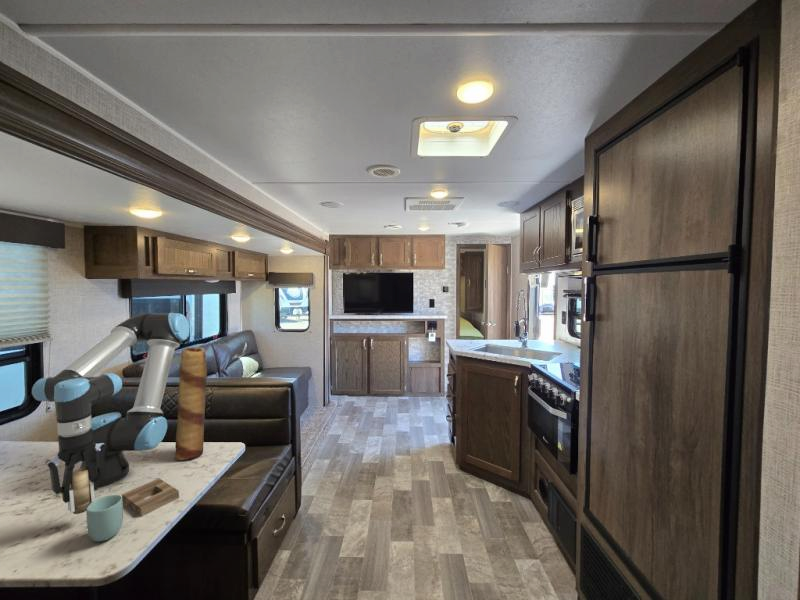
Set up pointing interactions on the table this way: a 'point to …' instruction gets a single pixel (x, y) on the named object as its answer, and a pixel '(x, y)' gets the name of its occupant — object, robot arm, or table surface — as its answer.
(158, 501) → the box with square hole
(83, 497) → the peg
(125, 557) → the table surface
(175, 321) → the robot arm
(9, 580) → the table surface
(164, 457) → the table surface
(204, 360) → the wafer roll
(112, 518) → the cup
